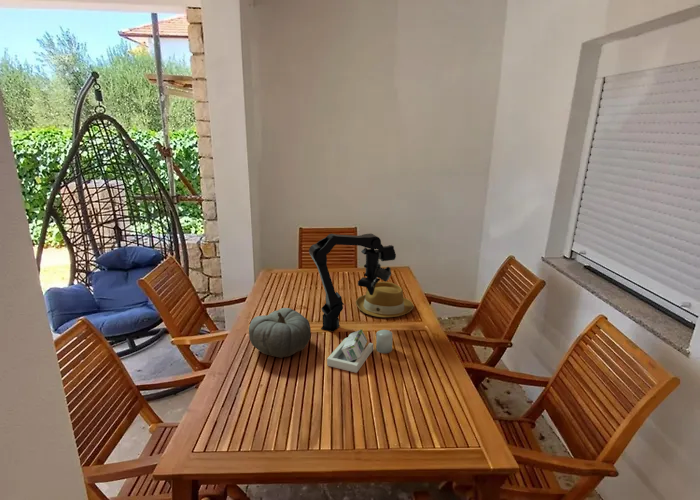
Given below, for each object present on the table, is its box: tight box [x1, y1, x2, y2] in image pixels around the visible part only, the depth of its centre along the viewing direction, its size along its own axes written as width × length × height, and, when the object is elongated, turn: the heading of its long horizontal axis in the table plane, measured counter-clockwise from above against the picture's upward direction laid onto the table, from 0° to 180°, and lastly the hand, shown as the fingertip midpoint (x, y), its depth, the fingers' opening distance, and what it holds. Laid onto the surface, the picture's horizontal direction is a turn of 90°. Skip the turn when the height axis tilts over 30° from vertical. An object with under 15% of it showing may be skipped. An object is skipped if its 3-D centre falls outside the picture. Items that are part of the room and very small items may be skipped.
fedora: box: [355, 281, 414, 318], centre depth 203 cm, size 27×29×12 cm
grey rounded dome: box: [375, 329, 393, 354], centre depth 165 cm, size 6×6×7 cm
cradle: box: [326, 337, 374, 374], centre depth 160 cm, size 12×18×3 cm
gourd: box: [248, 307, 312, 359], centre depth 165 cm, size 25×25×17 cm
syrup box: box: [341, 329, 368, 361], centre depth 161 cm, size 6×6×14 cm
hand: (371, 294), depth 187 cm, fingers closed
